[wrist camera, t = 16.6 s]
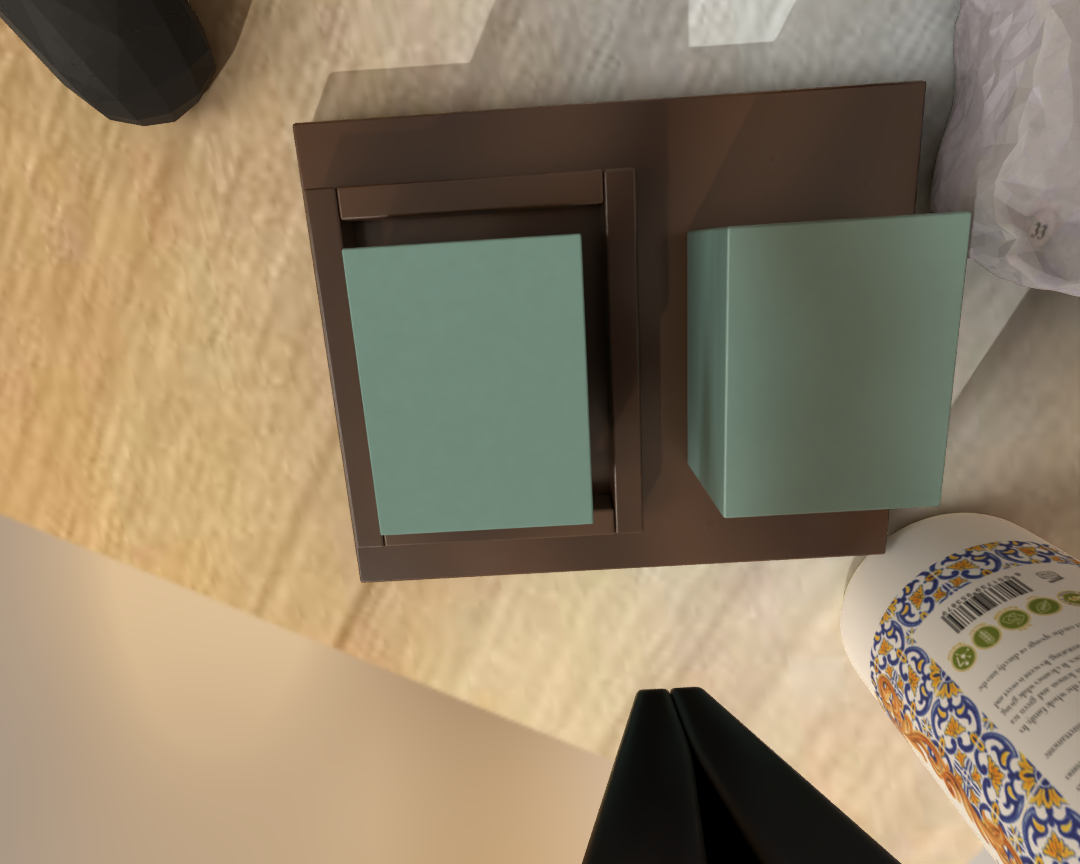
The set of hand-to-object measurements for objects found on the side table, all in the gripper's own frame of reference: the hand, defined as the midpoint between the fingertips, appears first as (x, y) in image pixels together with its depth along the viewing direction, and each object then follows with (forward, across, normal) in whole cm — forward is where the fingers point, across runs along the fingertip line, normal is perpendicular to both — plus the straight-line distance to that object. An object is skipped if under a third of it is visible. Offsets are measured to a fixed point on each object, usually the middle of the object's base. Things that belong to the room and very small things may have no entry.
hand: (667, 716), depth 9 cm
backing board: (+12, 0, -3) cm, 12 cm away
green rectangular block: (+11, +3, -3) cm, 12 cm away
